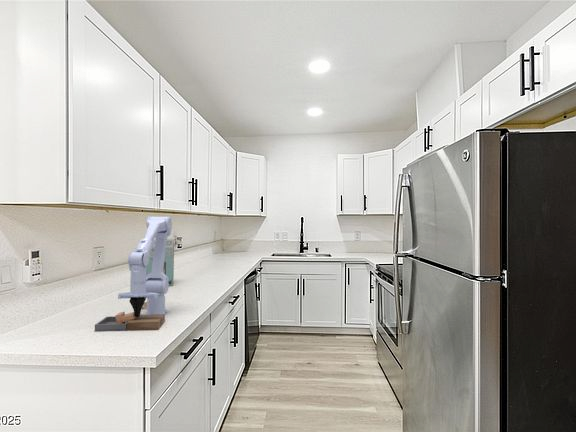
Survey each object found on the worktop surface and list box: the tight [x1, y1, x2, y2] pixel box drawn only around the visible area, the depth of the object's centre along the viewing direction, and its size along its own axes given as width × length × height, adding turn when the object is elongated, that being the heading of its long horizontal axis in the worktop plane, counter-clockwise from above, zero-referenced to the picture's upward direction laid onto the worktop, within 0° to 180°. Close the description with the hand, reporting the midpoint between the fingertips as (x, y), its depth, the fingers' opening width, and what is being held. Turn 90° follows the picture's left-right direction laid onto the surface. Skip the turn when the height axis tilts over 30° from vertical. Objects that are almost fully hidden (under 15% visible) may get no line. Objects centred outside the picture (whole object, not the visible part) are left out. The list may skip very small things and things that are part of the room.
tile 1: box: [114, 311, 126, 324], centre depth 143 cm, size 4×4×2 cm
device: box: [146, 238, 175, 287], centre depth 235 cm, size 16×8×30 cm, turn 104°
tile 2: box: [121, 311, 136, 322], centre depth 143 cm, size 4×4×2 cm
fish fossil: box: [142, 301, 147, 310], centre depth 185 cm, size 26×10×1 cm, turn 6°
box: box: [94, 315, 128, 332], centre depth 142 cm, size 12×11×2 cm
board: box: [126, 313, 166, 332], centre depth 144 cm, size 12×12×3 cm
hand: (137, 316), depth 143 cm, fingers closed
